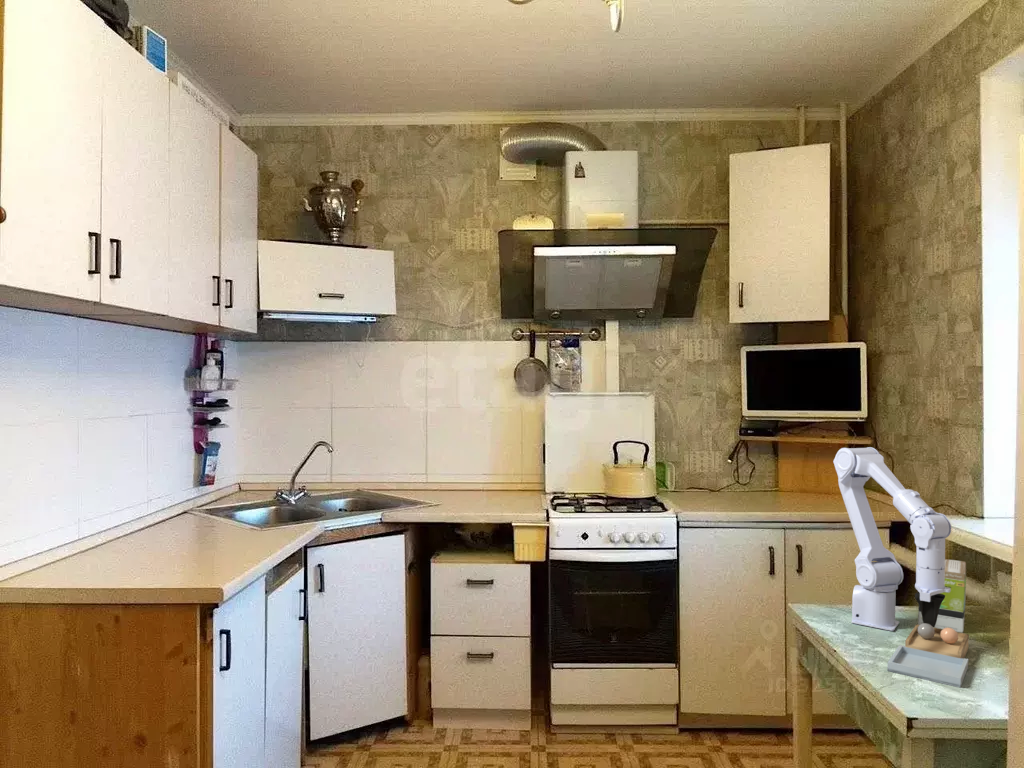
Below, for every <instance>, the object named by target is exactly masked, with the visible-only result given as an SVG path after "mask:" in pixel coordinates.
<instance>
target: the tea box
mask: <svg viewBox="0 0 1024 768" xmlns="http://www.w3.org/2000/svg"><path fill="white" fill-rule="evenodd" d="M945 587H947V588H950V589H951V591H950V592H949V593H948V592H943V593H939V594H943V595H945V598H944V600H943V601H942V603H941V606H940V609H939V612H938V617H937V622H936V625H935V627H933V628H938V629H944V628H952V629H954V630H955V631H956V632H959V633H964V630H965V629H964V627H965V616H966V615H965V614H966V613H965V612H966V594H967V593H966V592H967V591H966V590H967V562H966V561H963V560H955V559H947V558H945ZM917 611H918V612H917V613H918V614H917V615H918V616H917V625H920V624H922V623H923V619H922V614H921V610H920V607H919V606H918V610H917Z"/></svg>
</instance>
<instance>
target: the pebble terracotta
mask: <svg viewBox="0 0 1024 768" xmlns="http://www.w3.org/2000/svg"><path fill="white" fill-rule="evenodd" d="M940 635H941V638H942V640H943V641H944V642H946V643H949V644H953V643H955V642H956V641H957V640H958V634H957V632H956V631H955V630H954V629H952V628H944V629H942V631H941V633H940Z"/></svg>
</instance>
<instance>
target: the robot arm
mask: <svg viewBox="0 0 1024 768" xmlns="http://www.w3.org/2000/svg"><path fill="white" fill-rule="evenodd" d="M884 461H885V458H884V456H883V455H882V454H880V452H879V451H878V450H877V449H876V448H874V447H871V446H869V447H868V446H867V447H856V448H855V447H853V448H852V447H851V448H849V447H841V448H840V449H839V450H838V451H837V452H836V454H835V457H834V459H833V461H832V462H833V464H834V465H833V466H834V469H835V472H836V474H837V478H838V479H837V481H838V483H837V484H838V487H839V490H840V493H841V496H842V499H843V503H844V506H845V509H846V512H847V514H848V518H849V521H850V524H851V527H852V529H853V534H854V537H855V538H856V542H857V545H858V547H859V553H858V555H856V557H855V558H854V563H855V564H854V565H855V569H856V570H855V574H856V575H855V576H856V579H857V581H858V583H859V584H855V585H854V587H853V591H852V596H851V597H852V600H851V601H852V604H851V605H852V607H851V623H852V624H856V625H860V626H865V627H871V628H874V629H875V628H876V629H881V630H884V631H885V630H886V631H891V632H894V631H895V630H896V628H897V627H898V626H899V624H900V621H899V620H896V601H897V600H896V599H897V598H896V595H897V594H896V590H898V589H899V585H900V584H901V583H903V580H904V572H903V567H902V566H901V564H900V563H899V562H898V561H897V559H896V557H895V554H894V553H893V552H892V551H890V550H889V549H887V548H886V547H885V546H884V543H883V541H882V538H881V535H880V532H879V530H878V527H877V526H878V525H877V523H876V520H875V517H874V515H873V512H872V509H871V505H870V502H869V500H868V498H867V494H866V491H865V488H864V486H865V484H866V482H868V481H869V480H870V478H872V479H873V480H874V481H875V482H876V483H877V484H878V485H880V487H881V488H883V489H884V490H885V491H886V492H887V493H888V494H889V495H890V496H891V497H892V505H893V506H894V508H896V509H897V511H898V512H899V513H900V514H901V515H902V517H904V519H906V521H907V523H909V524H910V527H909V529H910V531H911V533H912V535H913V538H914V544H915V546H916V551H915V552H916V554H915V555H916V556H915V557H916V558H915V559H916V560H915V562H916V563H915V567H916V568H915V584H914V588H915V590H917V592H916V593H915V594H914V598H915V600H916V602H917V603H918V604H917V605H918V608H919V607H920V610H921V614H922V619H923V623H927V624H930V625H931V626H932V627H935V625H936V622H937V617H938V612H939V609H940V606H941V603H942V601H943V600H944V598H945V595H943V594H939V593H943V592H948V593H949V592H950V591H951V589H950V588H947V587H945V559H946V539H947V538H948V537H949V536H950V535H951V533H952V524H951V521H950V520H949V518H948V517H947V515H945V514H944V513H940V512H936V510H934V509H933V507H930V506H929V505H928V504H927V503H926V501H924V500H923V499H922V497H921V494H920V493H919V492H918V491H915V490H914V489H911V488H910V489H909V488H908V489H907V488H905V487H904V485H903V484H902V483H901V481H899V479H898V478H897V477H896V476H895V474H894V473H893V472H892V470H890V467H888V466H887V464H886V463H885V462H884Z"/></svg>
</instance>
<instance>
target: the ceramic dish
mask: <svg viewBox="0 0 1024 768" xmlns="http://www.w3.org/2000/svg"><path fill="white" fill-rule="evenodd" d="M968 669H969V658H956V657H951V656H947V655H942V654H937V653H932V652H927V651H923V650H918V649H913V648H908V647H905V645H903V644H902V645H901V644H899V645H898V646H897V648H896V649H895V651H894V652H893V654H891V657H890V658H889V660H888V661H887V672H891V673H896V674H900V675H904V676H909V677H913V678H917V679H922V680H926V681H930V682H935V683H938V684H943V685H948V686H953V687H957V688H961V687H962V685H963V682H964V679H965V676H966V674H967V671H968Z"/></svg>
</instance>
